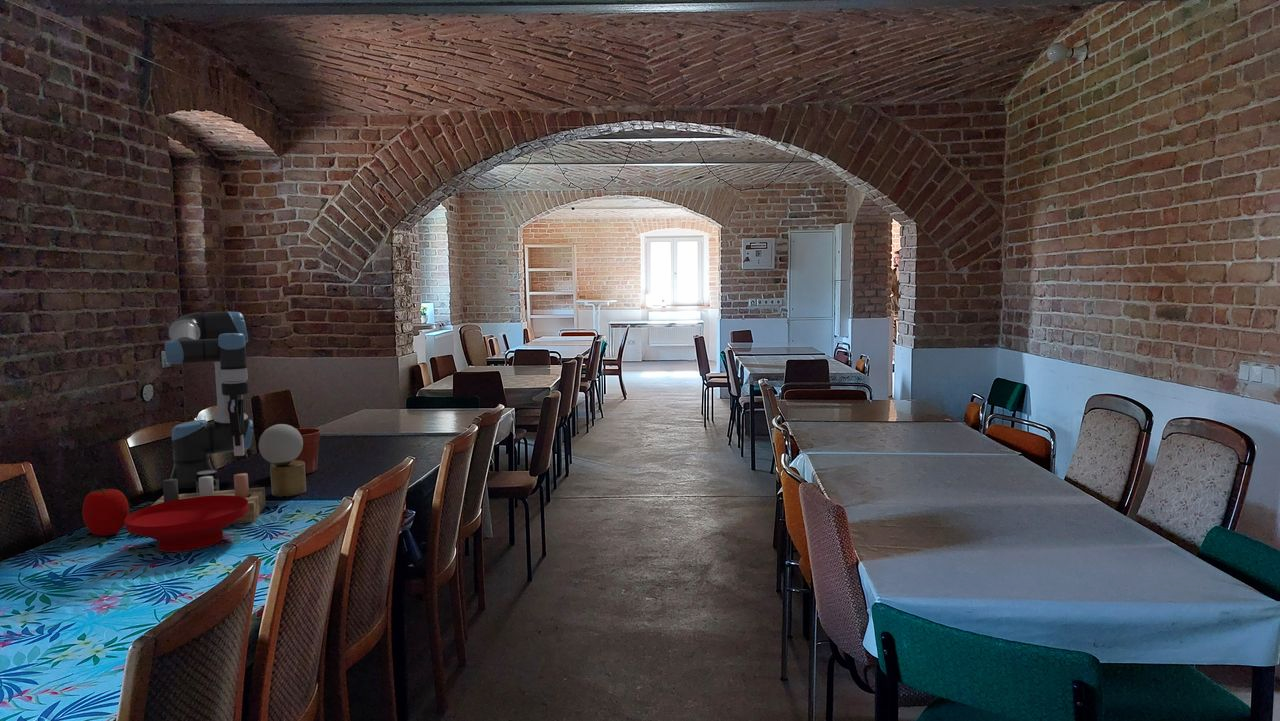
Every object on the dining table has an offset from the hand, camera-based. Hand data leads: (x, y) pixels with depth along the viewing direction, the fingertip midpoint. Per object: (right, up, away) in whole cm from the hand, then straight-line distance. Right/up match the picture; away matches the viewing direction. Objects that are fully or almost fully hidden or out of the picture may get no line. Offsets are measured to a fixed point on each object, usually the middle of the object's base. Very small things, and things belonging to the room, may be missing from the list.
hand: (239, 455), depth 246 cm
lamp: (+3, -17, +26) cm, 31 cm away
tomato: (-31, -22, -16) cm, 41 cm away
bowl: (-1, -22, -26) cm, 34 cm away
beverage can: (-16, -19, +11) cm, 27 cm away
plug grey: (-9, -16, -1) cm, 18 cm away
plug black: (-19, -16, -4) cm, 25 cm away
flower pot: (-7, -14, +60) cm, 62 cm away
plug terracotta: (0, -15, +1) cm, 15 cm away
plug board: (-9, -20, -1) cm, 22 cm away
